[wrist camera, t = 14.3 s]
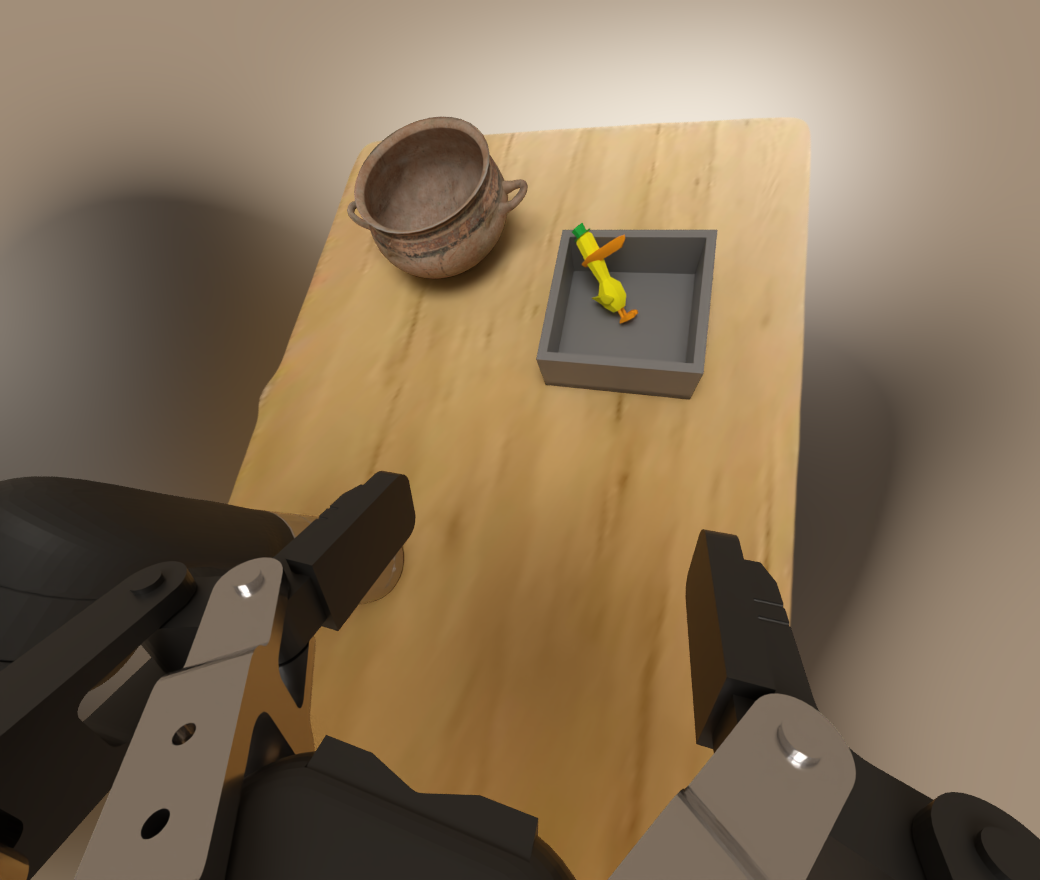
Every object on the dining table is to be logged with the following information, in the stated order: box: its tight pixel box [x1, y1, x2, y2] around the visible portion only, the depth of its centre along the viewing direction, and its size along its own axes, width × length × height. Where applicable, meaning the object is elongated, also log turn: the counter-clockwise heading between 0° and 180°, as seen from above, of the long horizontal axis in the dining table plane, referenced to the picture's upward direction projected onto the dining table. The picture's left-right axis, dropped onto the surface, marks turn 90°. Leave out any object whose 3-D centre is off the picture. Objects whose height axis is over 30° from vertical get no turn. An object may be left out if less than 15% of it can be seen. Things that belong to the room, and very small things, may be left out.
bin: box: [536, 230, 717, 399], centre depth 46 cm, size 17×17×7 cm
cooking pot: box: [347, 117, 527, 278], centre depth 53 cm, size 25×19×12 cm
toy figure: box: [572, 223, 638, 324], centre depth 46 cm, size 7×4×12 cm
